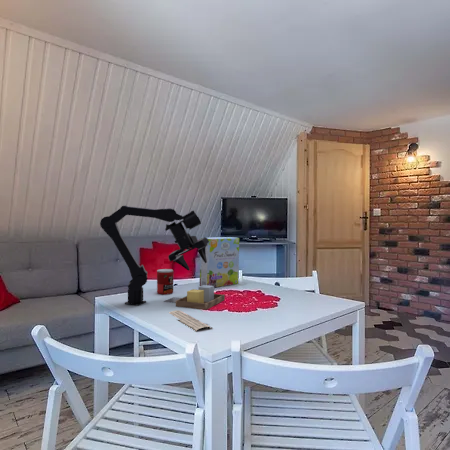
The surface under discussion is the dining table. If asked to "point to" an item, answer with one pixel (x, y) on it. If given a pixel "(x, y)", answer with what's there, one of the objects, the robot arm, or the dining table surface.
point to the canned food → (165, 281)
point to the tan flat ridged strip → (188, 320)
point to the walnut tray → (204, 306)
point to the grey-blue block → (207, 292)
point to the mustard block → (195, 296)
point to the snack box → (220, 262)
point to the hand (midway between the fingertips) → (197, 266)
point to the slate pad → (172, 300)
